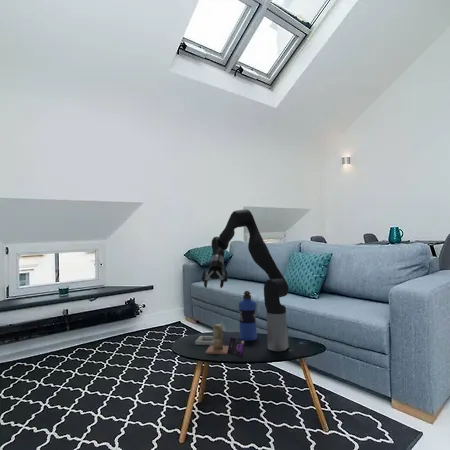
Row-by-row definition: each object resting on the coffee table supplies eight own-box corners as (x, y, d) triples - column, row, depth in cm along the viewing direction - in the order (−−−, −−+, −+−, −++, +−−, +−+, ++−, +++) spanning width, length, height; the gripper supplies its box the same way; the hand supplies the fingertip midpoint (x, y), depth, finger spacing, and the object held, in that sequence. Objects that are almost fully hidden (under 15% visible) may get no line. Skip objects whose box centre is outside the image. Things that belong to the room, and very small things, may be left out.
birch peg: (218, 346, 163) (218, 323, 164) (224, 348, 160) (224, 325, 160) (211, 348, 160) (211, 325, 161) (217, 350, 157) (217, 327, 157)
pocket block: (200, 338, 180) (200, 335, 181) (219, 339, 179) (219, 336, 179) (195, 344, 170) (195, 341, 170) (215, 345, 168) (215, 342, 168)
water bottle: (256, 335, 183) (254, 289, 184) (258, 340, 174) (256, 292, 175) (239, 336, 183) (237, 290, 184) (240, 341, 174) (238, 292, 175)
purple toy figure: (229, 336, 159) (243, 340, 153) (236, 338, 162) (250, 341, 156) (226, 351, 157) (240, 355, 151) (233, 352, 160) (247, 357, 154)
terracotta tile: (210, 346, 166) (210, 345, 166) (230, 347, 164) (230, 345, 164) (205, 353, 156) (205, 351, 156) (226, 354, 154) (226, 352, 154)
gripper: (203, 259, 192) (199, 282, 181) (228, 259, 190) (225, 282, 178) (205, 268, 197) (201, 290, 186) (229, 268, 195) (227, 291, 183)
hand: (213, 286), depth 182 cm, fingers open, 8 cm apart
